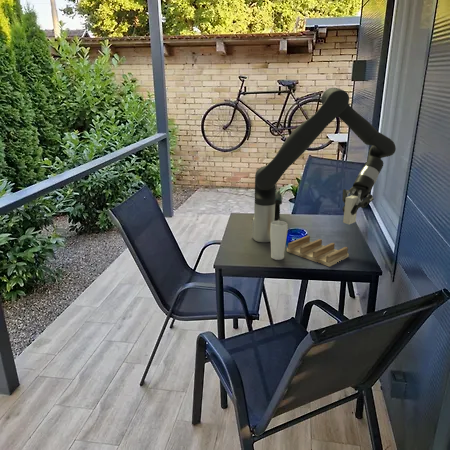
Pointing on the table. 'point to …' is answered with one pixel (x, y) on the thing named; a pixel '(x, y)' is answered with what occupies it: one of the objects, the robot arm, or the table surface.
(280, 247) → the drinking glass
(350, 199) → the cream rectangular block
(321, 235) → the table surface
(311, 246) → the ridged wooden tray
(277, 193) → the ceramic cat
